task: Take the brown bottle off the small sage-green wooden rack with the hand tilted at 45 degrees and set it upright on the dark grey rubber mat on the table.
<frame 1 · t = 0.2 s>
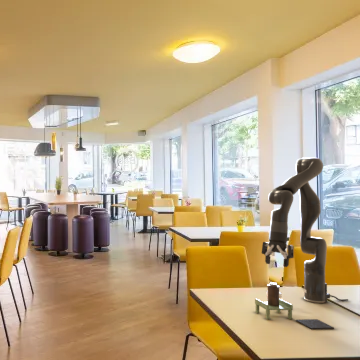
hand: (276, 265, 185), 22 cm above the table, tool pointing down, fingers open, 8 cm apart
brown bottle: (273, 304, 180), point 5 cm above the table, touching rack
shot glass: (273, 306, 195), on the table
rack: (273, 315, 180), on the table
mat: (314, 324, 169), on the table
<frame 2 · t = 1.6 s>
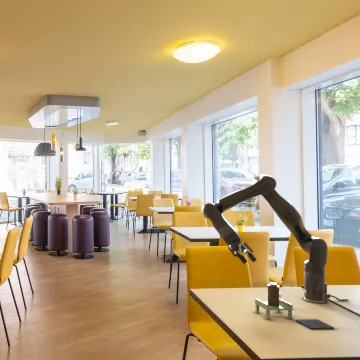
hand: (250, 261, 189), 23 cm above the table, tool tilted 45°, fingers open, 8 cm apart
nothing on the table moved.
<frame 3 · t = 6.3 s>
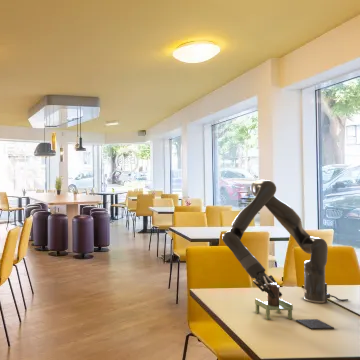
hand: (277, 297, 179), 9 cm above the table, tool tilted 45°, fingers closed on brown bottle, 5 cm apart
brown bottle: (273, 304, 180), point 5 cm above the table, touching gripper, rack
everything else where it was.
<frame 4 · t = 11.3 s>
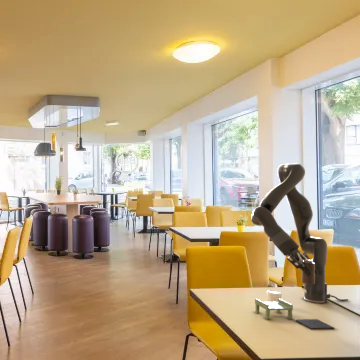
hand: (313, 274, 169), 22 cm above the table, tool tilted 45°, fingers closed on brown bottle, 5 cm apart
brown bottle: (308, 282, 170), point 18 cm above the table, touching gripper
everything else where it was.
when the fingers open (5 cm above the table, at t = 16.5 s): brown bottle stays where it is, resting on mat.
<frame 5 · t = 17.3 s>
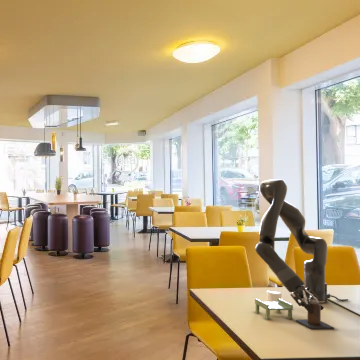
hand: (317, 311, 168), 6 cm above the table, tool tilted 45°, fingers open, 8 cm apart
brown bottle: (314, 323, 169), point 1 cm above the table, touching mat
everything else where it was.
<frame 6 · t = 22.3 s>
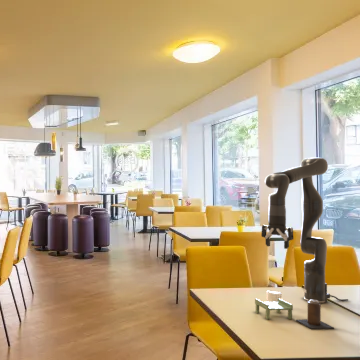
hand: (277, 247, 191), 30 cm above the table, tool pointing down, fingers open, 8 cm apart
nothing on the table moved.
at the end: brown bottle inside the target area on the mat (0.2 cm from its centre), point 0.6 cm above the mat's base; brown bottle tilted 0°; brown bottle touching mat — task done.
